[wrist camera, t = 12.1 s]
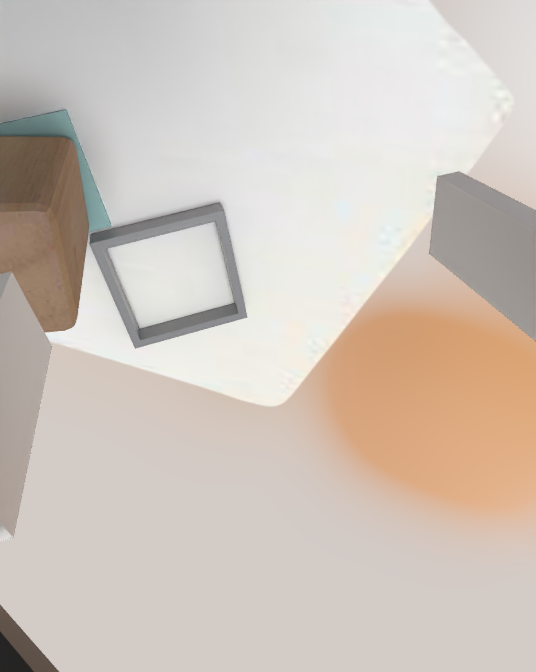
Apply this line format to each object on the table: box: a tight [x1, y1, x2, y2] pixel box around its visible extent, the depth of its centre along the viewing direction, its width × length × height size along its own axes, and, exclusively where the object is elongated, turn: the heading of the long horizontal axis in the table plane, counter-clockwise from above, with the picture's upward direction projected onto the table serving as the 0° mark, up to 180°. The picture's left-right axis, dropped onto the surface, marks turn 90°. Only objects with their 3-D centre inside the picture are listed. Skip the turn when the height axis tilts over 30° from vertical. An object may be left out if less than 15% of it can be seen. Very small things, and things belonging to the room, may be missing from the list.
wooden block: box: [0, 136, 89, 332], centre depth 39 cm, size 10×10×20 cm
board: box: [0, 110, 111, 232], centre depth 47 cm, size 12×12×1 cm
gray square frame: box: [90, 203, 247, 348], centre depth 56 cm, size 15×15×2 cm
